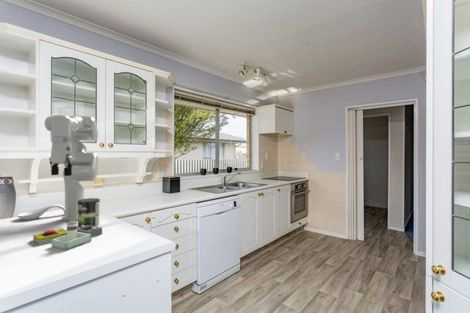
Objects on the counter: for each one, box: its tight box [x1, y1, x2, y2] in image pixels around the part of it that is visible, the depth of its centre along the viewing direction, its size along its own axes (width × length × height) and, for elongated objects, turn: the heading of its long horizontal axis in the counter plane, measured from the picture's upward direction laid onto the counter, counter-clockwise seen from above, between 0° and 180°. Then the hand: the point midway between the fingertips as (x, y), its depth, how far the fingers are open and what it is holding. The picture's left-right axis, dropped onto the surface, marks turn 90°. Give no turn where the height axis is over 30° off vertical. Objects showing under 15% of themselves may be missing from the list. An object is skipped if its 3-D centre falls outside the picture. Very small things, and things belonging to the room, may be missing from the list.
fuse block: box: [77, 225, 103, 238], centre depth 116 cm, size 7×10×4 cm
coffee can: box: [77, 197, 101, 228], centre depth 131 cm, size 10×10×14 cm
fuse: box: [66, 220, 78, 242], centre depth 104 cm, size 4×4×9 cm
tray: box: [51, 232, 92, 251], centre depth 104 cm, size 11×9×3 cm
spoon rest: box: [17, 204, 65, 221], centre depth 147 cm, size 24×12×7 cm, turn 125°
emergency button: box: [28, 228, 67, 247], centre depth 110 cm, size 9×4×15 cm
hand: (61, 175), depth 119 cm, fingers open, 9 cm apart
